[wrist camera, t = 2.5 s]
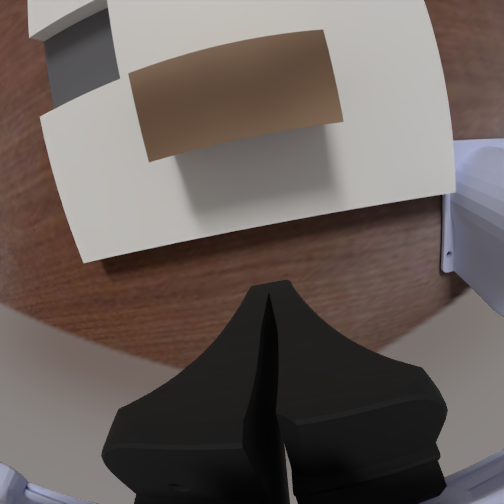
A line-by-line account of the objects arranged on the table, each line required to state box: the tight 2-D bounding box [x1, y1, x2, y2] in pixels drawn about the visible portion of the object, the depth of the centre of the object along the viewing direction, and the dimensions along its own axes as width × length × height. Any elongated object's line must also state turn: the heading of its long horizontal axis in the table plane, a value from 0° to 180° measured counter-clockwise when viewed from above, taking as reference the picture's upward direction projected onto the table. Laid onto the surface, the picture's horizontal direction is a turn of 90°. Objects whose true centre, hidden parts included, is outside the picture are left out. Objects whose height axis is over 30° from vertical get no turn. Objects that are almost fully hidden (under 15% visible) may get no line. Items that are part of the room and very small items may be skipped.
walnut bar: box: [128, 29, 344, 162], centre depth 13 cm, size 4×8×4 cm, turn 102°
